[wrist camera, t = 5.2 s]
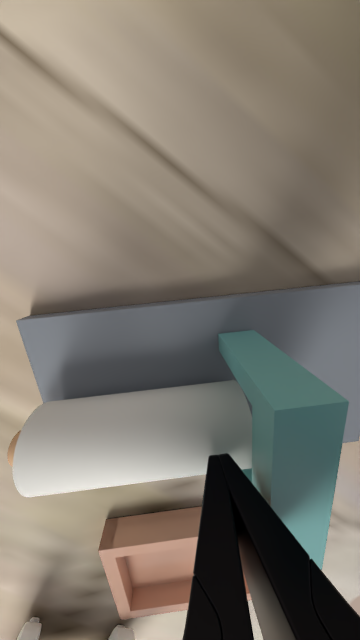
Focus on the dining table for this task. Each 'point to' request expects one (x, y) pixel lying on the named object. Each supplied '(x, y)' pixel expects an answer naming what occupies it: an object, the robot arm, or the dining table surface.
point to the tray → (151, 561)
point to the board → (196, 343)
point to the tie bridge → (290, 435)
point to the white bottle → (130, 438)
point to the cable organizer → (31, 630)
